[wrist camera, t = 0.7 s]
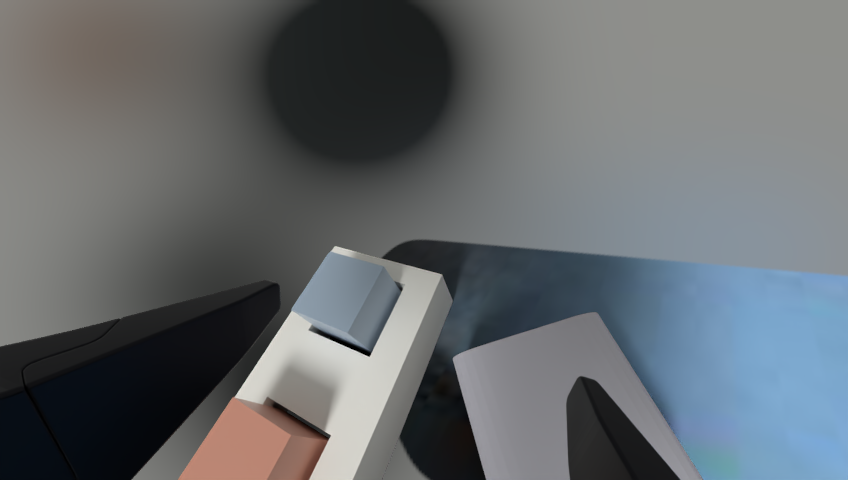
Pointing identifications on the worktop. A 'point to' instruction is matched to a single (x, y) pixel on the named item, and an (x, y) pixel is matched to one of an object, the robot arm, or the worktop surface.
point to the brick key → (256, 446)
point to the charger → (552, 398)
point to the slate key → (349, 300)
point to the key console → (355, 375)
